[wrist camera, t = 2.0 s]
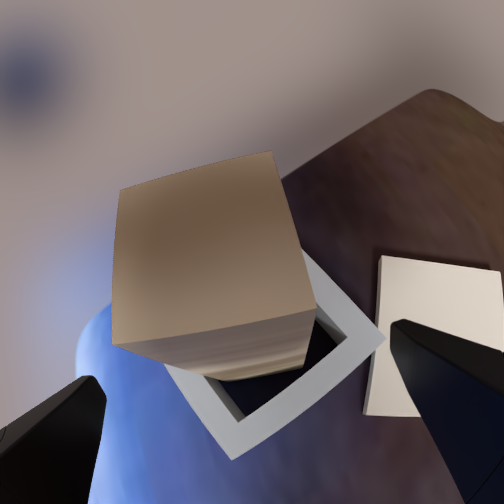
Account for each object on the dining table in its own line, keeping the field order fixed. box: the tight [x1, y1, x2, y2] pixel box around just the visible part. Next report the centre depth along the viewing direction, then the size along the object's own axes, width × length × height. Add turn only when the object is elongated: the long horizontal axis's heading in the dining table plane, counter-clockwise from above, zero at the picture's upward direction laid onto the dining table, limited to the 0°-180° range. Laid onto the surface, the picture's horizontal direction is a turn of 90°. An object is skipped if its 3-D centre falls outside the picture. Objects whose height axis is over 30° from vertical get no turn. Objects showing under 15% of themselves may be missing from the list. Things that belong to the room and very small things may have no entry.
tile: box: [362, 255, 504, 417], centre depth 15 cm, size 10×10×1 cm
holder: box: [163, 248, 387, 460], centre depth 17 cm, size 10×10×3 cm
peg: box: [112, 151, 317, 382], centre depth 12 cm, size 4×4×12 cm
